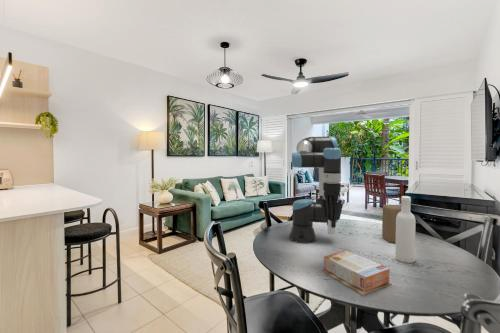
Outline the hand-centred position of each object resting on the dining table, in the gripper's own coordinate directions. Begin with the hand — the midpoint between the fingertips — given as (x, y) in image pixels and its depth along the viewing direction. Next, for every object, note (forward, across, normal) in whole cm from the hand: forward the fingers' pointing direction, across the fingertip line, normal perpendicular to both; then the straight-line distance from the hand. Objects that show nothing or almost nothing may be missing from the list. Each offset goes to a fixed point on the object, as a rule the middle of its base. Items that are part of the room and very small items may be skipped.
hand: (331, 233), depth 111 cm
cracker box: (+11, +3, -1) cm, 11 cm away
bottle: (+14, +13, +34) cm, 39 cm away
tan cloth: (+14, +14, -1) cm, 20 cm away
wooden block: (+15, -6, +56) cm, 58 cm away
